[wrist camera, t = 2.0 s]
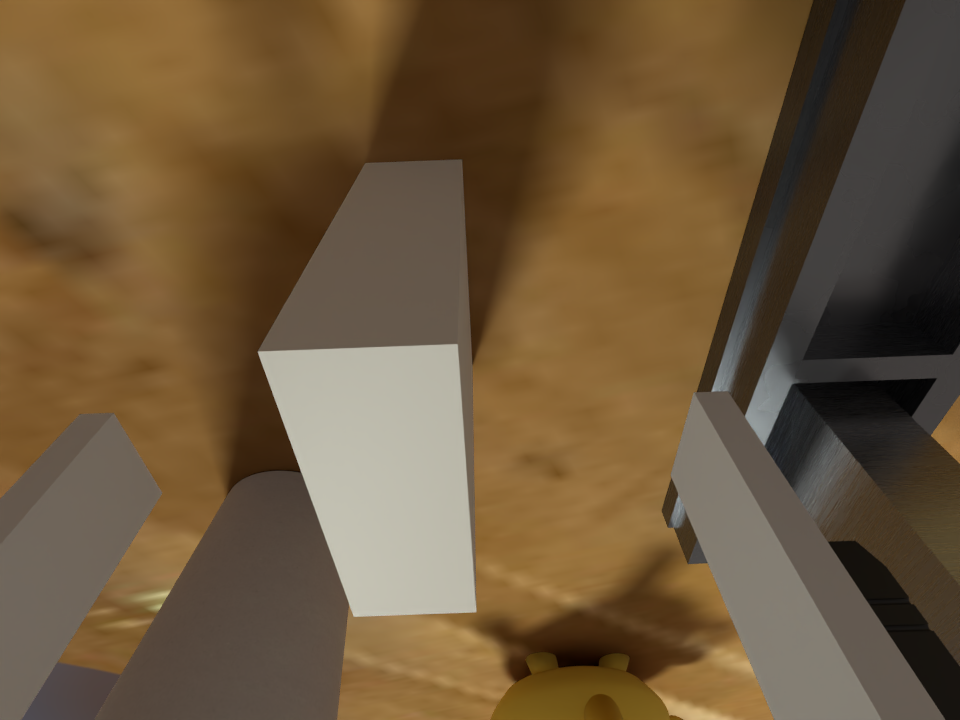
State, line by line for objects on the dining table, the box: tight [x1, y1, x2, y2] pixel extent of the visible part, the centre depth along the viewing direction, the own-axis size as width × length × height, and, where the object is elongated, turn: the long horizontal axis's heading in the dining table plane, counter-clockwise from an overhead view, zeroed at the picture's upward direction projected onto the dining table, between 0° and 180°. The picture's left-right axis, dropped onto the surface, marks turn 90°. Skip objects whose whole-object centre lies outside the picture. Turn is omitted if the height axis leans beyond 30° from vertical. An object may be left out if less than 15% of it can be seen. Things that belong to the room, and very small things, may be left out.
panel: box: [258, 159, 476, 617], centre depth 14 cm, size 8×3×10 cm, turn 2°
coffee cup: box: [94, 471, 349, 720], centre depth 20 cm, size 10×10×15 cm
